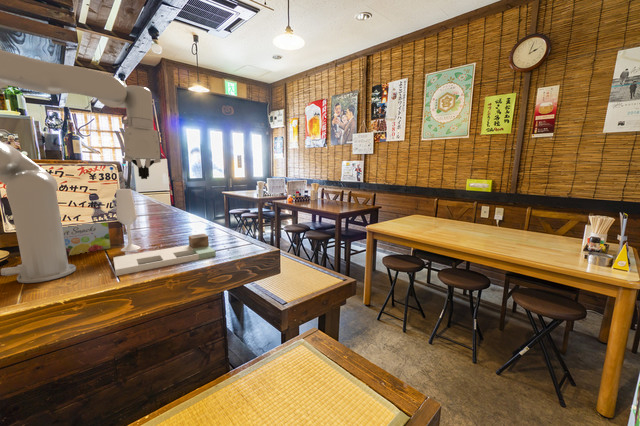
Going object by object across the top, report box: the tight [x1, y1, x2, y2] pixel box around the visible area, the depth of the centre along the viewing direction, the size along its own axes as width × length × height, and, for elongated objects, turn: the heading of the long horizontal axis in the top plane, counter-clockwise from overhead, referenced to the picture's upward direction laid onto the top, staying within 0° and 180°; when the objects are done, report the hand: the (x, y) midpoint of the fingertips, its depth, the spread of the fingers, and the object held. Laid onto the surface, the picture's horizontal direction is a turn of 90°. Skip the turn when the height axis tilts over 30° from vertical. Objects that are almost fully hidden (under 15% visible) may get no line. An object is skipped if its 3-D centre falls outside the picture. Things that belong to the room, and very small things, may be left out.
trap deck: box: [112, 244, 217, 277], centre depth 96 cm, size 30×14×2 cm, turn 129°
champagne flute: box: [115, 188, 142, 252], centre depth 105 cm, size 7×7×24 cm
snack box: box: [62, 223, 111, 257], centre depth 100 cm, size 21×6×15 cm, turn 143°
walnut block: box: [188, 233, 210, 249], centre depth 105 cm, size 6×5×4 cm
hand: (144, 178), depth 94 cm, fingers closed
